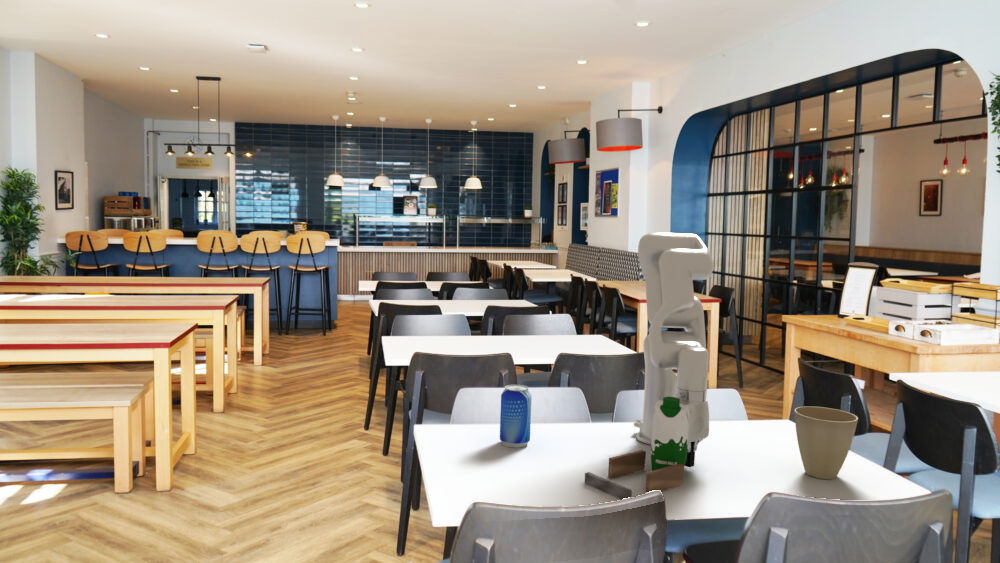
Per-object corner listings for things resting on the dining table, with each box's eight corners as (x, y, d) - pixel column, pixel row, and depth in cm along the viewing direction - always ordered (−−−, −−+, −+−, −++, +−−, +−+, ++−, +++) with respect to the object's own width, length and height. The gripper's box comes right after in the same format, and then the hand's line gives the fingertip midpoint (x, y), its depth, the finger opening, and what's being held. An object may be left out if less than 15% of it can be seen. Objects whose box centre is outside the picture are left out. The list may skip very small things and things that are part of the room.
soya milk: (647, 478, 188) (652, 398, 186) (652, 467, 197) (656, 390, 195) (684, 483, 185) (689, 402, 183) (687, 471, 194) (691, 394, 192)
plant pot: (848, 489, 185) (853, 425, 184) (784, 476, 193) (789, 414, 191) (857, 472, 198) (861, 412, 196) (796, 460, 206) (800, 403, 204)
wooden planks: (584, 483, 183) (585, 462, 183) (640, 468, 195) (641, 449, 195) (627, 501, 172) (628, 480, 172) (683, 485, 184) (685, 465, 184)
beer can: (494, 445, 210) (496, 388, 208) (506, 437, 218) (508, 382, 216) (523, 450, 207) (525, 392, 205) (533, 441, 215) (536, 386, 213)
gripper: (684, 402, 186) (680, 475, 188) (721, 394, 195) (717, 464, 197) (660, 395, 192) (656, 466, 194) (697, 388, 201) (693, 456, 203)
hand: (687, 465), depth 195 cm, fingers closed
